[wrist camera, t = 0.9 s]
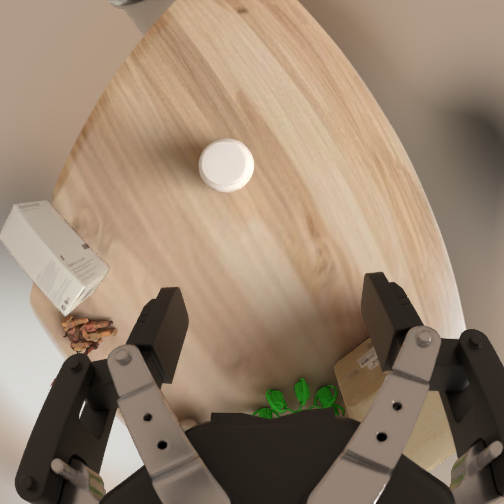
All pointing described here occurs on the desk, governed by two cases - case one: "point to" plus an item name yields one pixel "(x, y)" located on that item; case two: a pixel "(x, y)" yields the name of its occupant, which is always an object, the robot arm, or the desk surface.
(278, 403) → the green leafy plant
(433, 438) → the flower pot
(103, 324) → the armored character
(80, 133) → the desk surface
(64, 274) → the cosmetic box
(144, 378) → the robot arm
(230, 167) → the supplement bottle
